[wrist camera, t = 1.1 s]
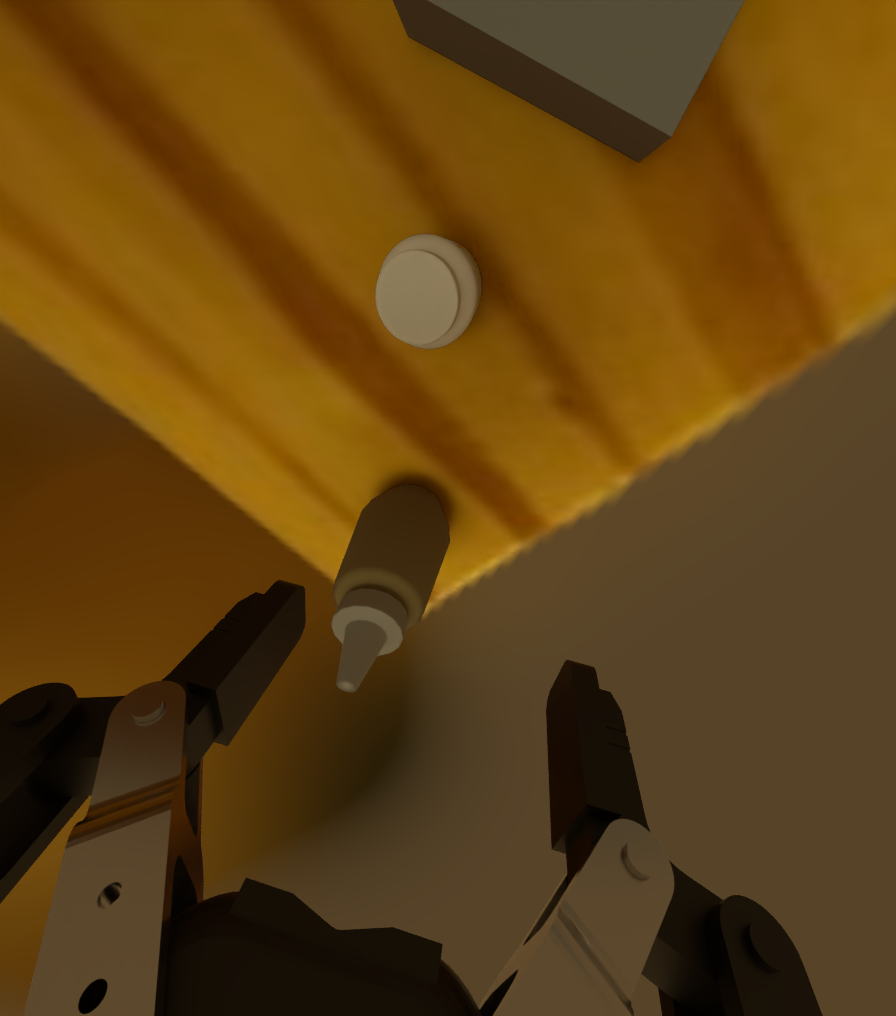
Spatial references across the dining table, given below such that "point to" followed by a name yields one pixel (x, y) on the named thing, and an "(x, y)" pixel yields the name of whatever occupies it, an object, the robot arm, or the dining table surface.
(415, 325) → the supplement bottle
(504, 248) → the dining table surface
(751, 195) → the dining table surface
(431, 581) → the squeeze bottle
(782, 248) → the dining table surface
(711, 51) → the charcoal stand
